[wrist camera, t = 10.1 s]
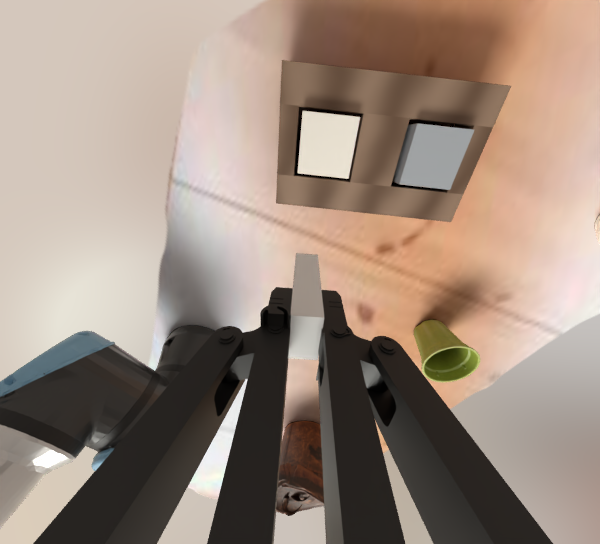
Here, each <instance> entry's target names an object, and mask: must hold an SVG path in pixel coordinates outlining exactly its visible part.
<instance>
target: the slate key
mask: <svg viewBox="0 0 600 544" xmlns="http://www.w3.org/2000/svg"><path fill="white" fill-rule="evenodd" d="M473 133H474V130H472V129H463V128H454V127H445V126H436V125H427V124H418V123H417V124H411V125H408V127H407V131H406V134H405V138H404V141H403V145H402V148H401V152H400V155H399V159H398V163H397V166H396V170H395V173H394V177H393V180H392V181H393V182H395V183H398V184H400V185H410V186H419V187H428V188H437V189H446V190H450V189H451V186H452V184H453V181H454V179H455V176H456V174H457V172H458V169H459V167H460V164H461V162H462V159H463V157H464V155H465V152H466V150H467V147H468V145H469V142H470V140H471V138H472V135H473Z"/></svg>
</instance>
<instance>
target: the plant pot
mask: <svg viewBox="0 0 600 544" xmlns="http://www.w3.org/2000/svg"><path fill="white" fill-rule="evenodd" d="M414 337H415V340H416V343H417V346H418V349H419V352H420V355H421V358H422V372H423V374H424V375H425V376H426V377H427V378H428V379H430V380H432V381H436V382H453V381H457V380H460V379H463V378H465V377H467V376H469V375H470V374H472V373H473V372H474V371H475V370H476V369H477V368H478V366H479V364H480V356H479V354H478V353H477V351H475V350H474V349H473V348H471V347H469V346H467V345H466V344H464V343H463V342H462V341H460V340H459V339H458V338H457V337H456V336H455V335H454V334H453V333H452V332H451V331H450V330H449V329H448V328H447V327H446V326H445V325H444V324H443V323H442V322H440V321H438V320H427V321H424V322H422V323H421V324H420V325H419V326H416V328H415V329H414Z"/></svg>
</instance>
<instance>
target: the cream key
mask: <svg viewBox="0 0 600 544" xmlns="http://www.w3.org/2000/svg"><path fill="white" fill-rule="evenodd" d="M359 121H360V117H355V116H346V115H337V114H328V113H319V112H310V111H303V112H302V124H301V137H300V149H299V161H298V173H299V174H309V175H318V176H327V177H336V178H345V179H349V173H350V168H351V163H352V158H353V152H354V147H355V142H356V137H357V131H358V126H359Z"/></svg>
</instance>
